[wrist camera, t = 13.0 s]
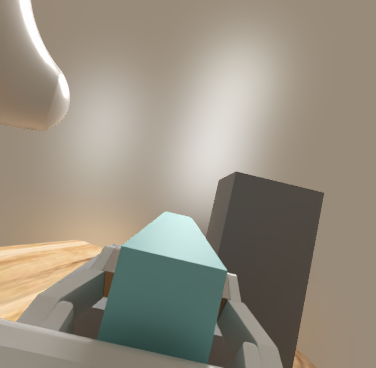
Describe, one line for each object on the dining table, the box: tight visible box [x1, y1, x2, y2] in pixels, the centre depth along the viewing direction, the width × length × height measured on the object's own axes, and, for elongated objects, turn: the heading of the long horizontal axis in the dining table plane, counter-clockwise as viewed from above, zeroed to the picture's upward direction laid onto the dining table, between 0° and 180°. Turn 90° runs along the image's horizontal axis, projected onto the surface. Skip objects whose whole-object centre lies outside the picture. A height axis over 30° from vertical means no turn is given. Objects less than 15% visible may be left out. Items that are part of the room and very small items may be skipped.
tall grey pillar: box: [45, 172, 324, 368], centre depth 25 cm, size 26×25×29 cm
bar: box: [97, 212, 227, 364], centre depth 19 cm, size 24×4×4 cm, turn 2°
